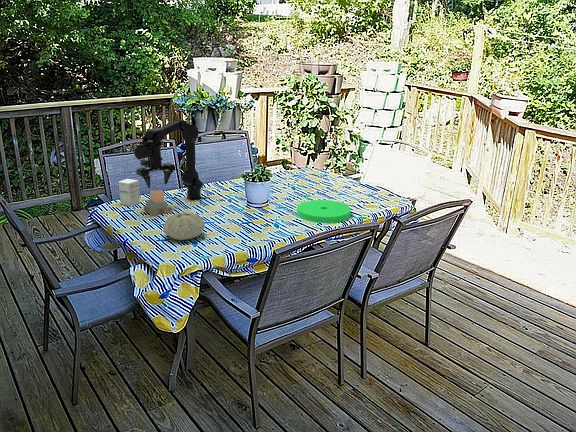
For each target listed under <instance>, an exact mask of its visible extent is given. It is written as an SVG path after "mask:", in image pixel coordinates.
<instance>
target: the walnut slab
mask: <svg viewBox="0 0 576 432" xmlns="http://www.w3.org/2000/svg"><path fill="white" fill-rule="evenodd" d="M143 212H146V213H147V214H149V215H151V216H153V217H156V216H159V215H160V216H161V215H163V214H164V215H165V214H169V213H172V207H171V206H170V205H168V204H167V208H163V209H158V210H150V209H149V208H148V207H146V205H144V206H143Z"/></svg>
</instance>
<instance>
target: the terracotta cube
mask: <svg viewBox="0 0 576 432" xmlns="http://www.w3.org/2000/svg"><path fill="white" fill-rule="evenodd" d="M149 194H150V195H149V197H150V199H149V200H151V201H152V202H154V203H160V202H164V200H165V192H164V191H163V190H161V189H156V190H150V192H149Z"/></svg>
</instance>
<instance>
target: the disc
mask: <svg viewBox="0 0 576 432" xmlns="http://www.w3.org/2000/svg"><path fill="white" fill-rule="evenodd" d="M351 211H352V208H351V207H350V206H349V205H348V204H345V203H343V202H340V201H337V200H336V201H335V200H330V199H313V200H306V201H303V202H301V203H299V204H298V205H297V206H296V214H297V216H298V217H299V218H300V219H302V220H305V221H308V222H313V223H317V224H320V223H321V224H333V223H342V222H344V221H347V220H348V219H349V218H350V217H351Z"/></svg>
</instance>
